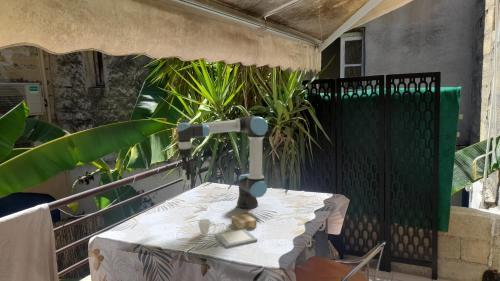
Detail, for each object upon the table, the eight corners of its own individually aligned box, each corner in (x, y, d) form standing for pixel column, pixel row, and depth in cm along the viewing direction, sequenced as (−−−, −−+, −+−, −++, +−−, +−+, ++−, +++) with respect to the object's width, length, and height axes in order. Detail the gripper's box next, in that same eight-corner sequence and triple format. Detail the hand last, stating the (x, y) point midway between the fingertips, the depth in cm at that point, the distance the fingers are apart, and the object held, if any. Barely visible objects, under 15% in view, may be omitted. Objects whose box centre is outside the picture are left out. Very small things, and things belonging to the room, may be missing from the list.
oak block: (247, 221, 223) (247, 213, 222) (256, 227, 211) (256, 219, 211) (231, 224, 219) (231, 216, 218) (239, 231, 207) (239, 223, 206)
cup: (199, 232, 206) (198, 218, 205) (216, 231, 207) (215, 218, 206) (197, 236, 199) (197, 223, 198) (215, 236, 200) (214, 222, 199)
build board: (243, 230, 207) (243, 228, 207) (257, 241, 191) (257, 239, 191) (215, 236, 200) (215, 233, 200) (226, 248, 184) (226, 245, 183)
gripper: (176, 146, 225) (178, 178, 227) (181, 151, 201) (183, 187, 204) (187, 145, 227) (189, 177, 230) (194, 150, 203) (196, 186, 206)
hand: (186, 182), depth 217 cm, fingers open, 13 cm apart
